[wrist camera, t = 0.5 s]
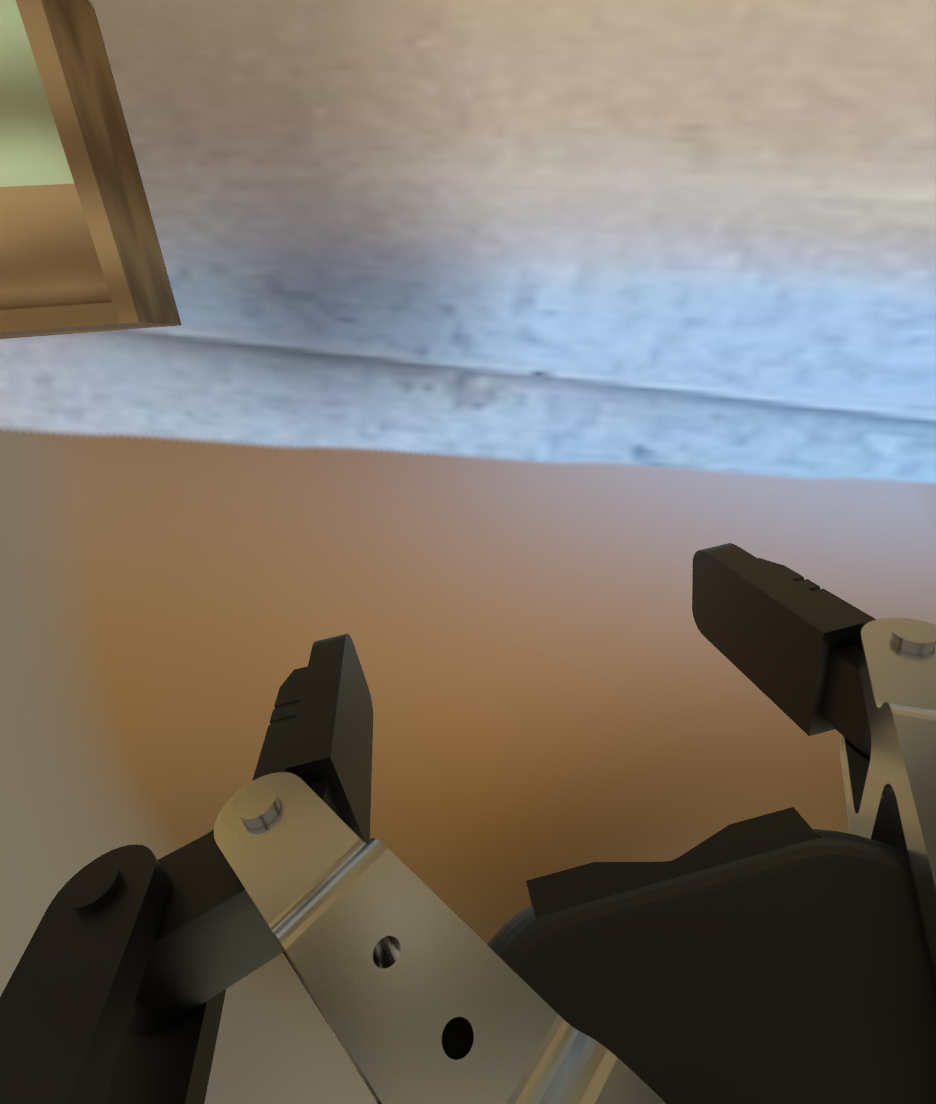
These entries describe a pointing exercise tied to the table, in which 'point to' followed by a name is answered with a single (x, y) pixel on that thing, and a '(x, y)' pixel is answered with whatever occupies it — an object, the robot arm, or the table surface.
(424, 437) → the table surface
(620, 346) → the table surface
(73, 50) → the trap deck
